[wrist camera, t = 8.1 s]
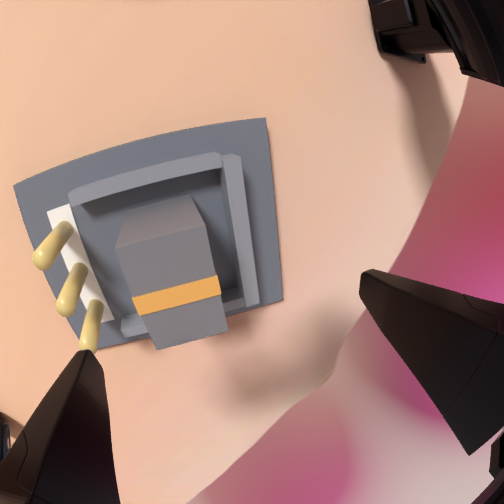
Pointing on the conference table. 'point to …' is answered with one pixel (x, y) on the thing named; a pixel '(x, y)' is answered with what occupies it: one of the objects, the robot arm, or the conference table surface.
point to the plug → (171, 271)
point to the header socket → (145, 192)
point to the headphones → (4, 440)
